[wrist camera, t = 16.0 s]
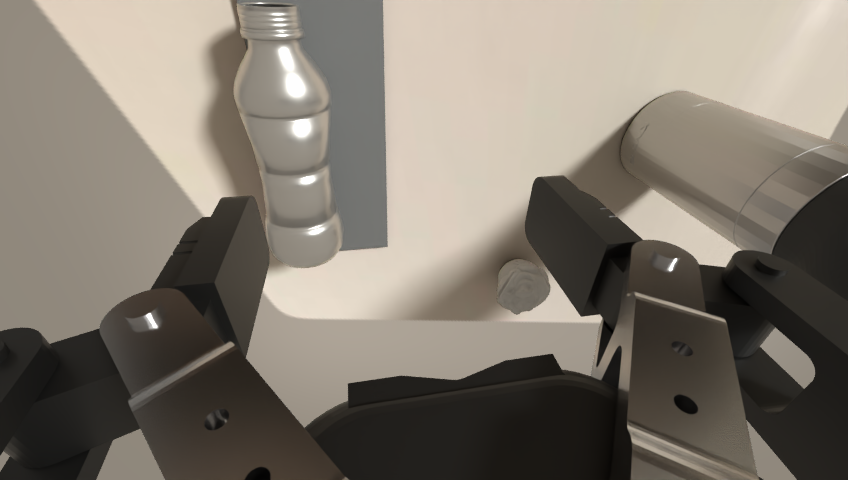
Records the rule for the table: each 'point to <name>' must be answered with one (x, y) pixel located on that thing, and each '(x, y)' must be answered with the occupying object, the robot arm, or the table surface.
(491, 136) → the table surface
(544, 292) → the grey cupcake
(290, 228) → the plastic bottle
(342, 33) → the charcoal rubber mat
